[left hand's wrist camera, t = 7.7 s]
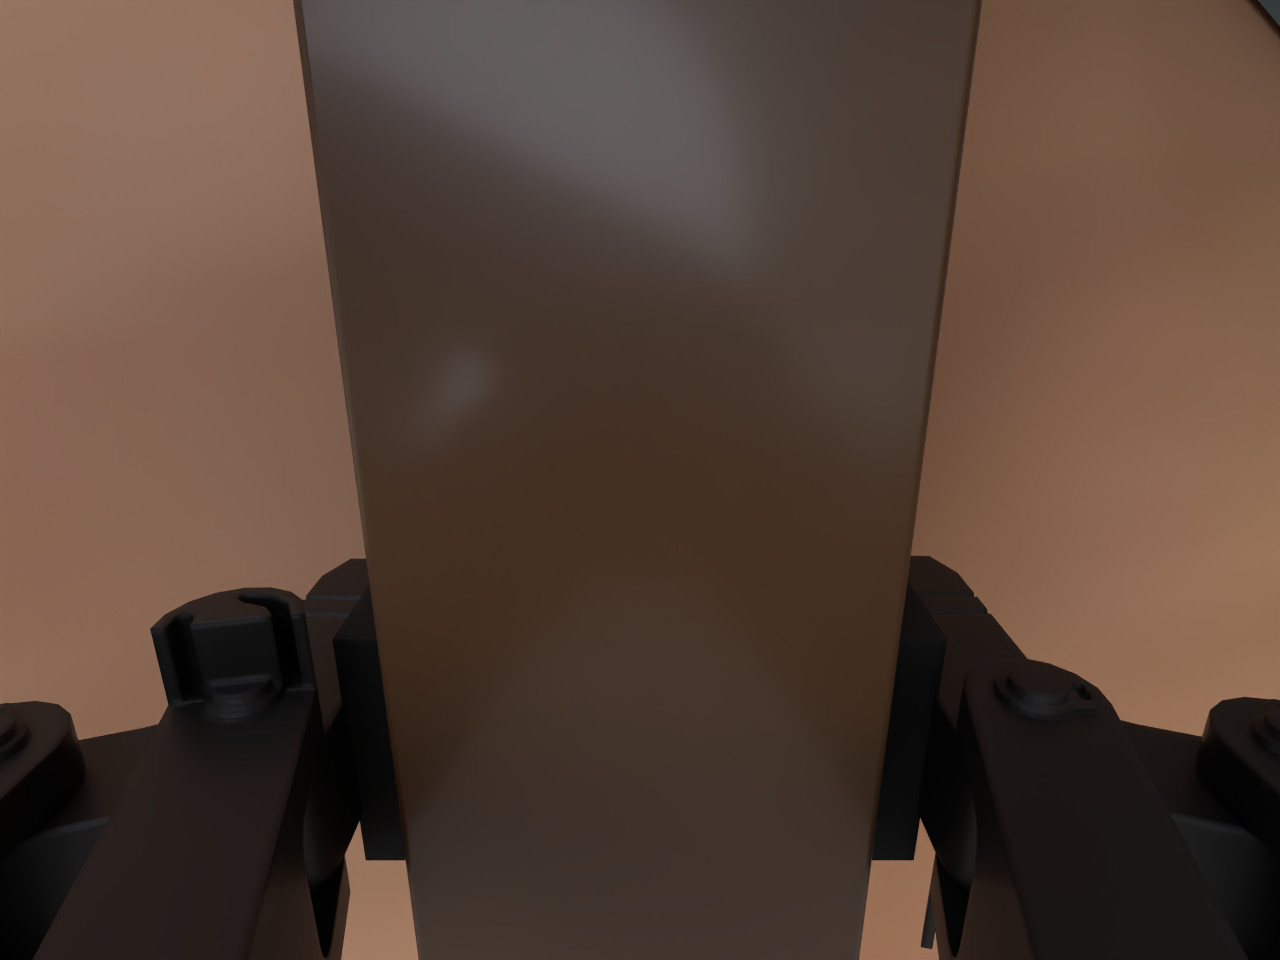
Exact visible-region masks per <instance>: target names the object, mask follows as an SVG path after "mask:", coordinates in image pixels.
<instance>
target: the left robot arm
mask: <svg viewBox="0 0 1280 960" xmlns="http://www.w3.org/2000/svg"><path fill="white" fill-rule="evenodd" d="M150 630H151V634H152V638H153V642H154V646H155V651H156V655H157V659H158V663H159V667H160V671H161V675H162V680H163V684H164V688H165V692H166V696H167V700H168V704H169V705H168V707H167V709H166V711H165V713H164V715H163V717H162V719H161V720H160V722H159V724H157V725H153V726H149V727H145V728H141V729H136V730H131V731H125V732H120V733H115V734H110V735H104V736H99V737H94V738H89V739H84V740H78V738H77V735H76V731H75V728H74V724H73V721H72V717H71V714H70V713H69V712H67V711H66V710H65V709H64V708H62V707H61V706H60V705H59V704H52V703H46V702H39V701H31V702H21V703H4V704H0V960H341V955H342V948H343V941H344V933H345V926H346V919H347V912H348V904H349V897H350V887H349V879H348V872H347V866H346V860H345V853H346V850H347V848H348V846H349V844H350V841H351V839H352V837H353V835H354V832H355V830H356V828H357V825H358V823H359V821H360V825H361V831H362V838H363V844H364V851H365V858H366V860H406V858H405V851H404V843H403V835H402V828H401V820H400V813H399V805H398V797H397V790H396V782H395V774H394V767H393V759H392V752H391V744H390V736H389V729H388V721H387V713H386V706H385V698H384V690H383V683H382V675H381V668H380V660H379V652H378V645H377V637H376V629H375V622H374V614H373V607H372V599H371V591H370V584H369V576H368V568H367V561H366V559H350V560H348V561H346V562H345V563H343V564H341V565H340V566H338V567H336V568H335V569H333V570H331V571H330V572H328V573H326V574H325V575H323V576H322V577H321V578H320V579H319V581H318V582H317V583H316V584H315V586H314V587H313V588H312V589H311V591H310V592H309V593H308V594H307V595H306V600H301V599H300V598H299V597H297V596H296V595H295V594H293V593H292V592H289V591H285V590H280V589H275V588H241V589H236V590H230V591H224V592H218V593H214V594H211V595H208V596H205V597H202V598H199V599H196V600H193V601H190V602H188V603H186V604H184V605H182V606H180V607H178V608H177V609H175V610H173V611H171V612H169V613H167V614H165V615H164V616H163V617H162V618H161V619H160V620H159V621H158V622H157V623H156V624H155V625H154V626H153V627H152V628H151V629H150ZM920 818H921V820H922V822H923V825H924V827H925V829H926V831H927V834H928V836H929V838H930V840H931V843H932V845H933V847H934V850H935V852H936V854H935V860H934V866H933V872H932V878H931V884H930V890H929V896H928V902H927V909H926V915H925V921H924V927H923V934H922V942H921V947H924V948H929V949H932V947H933V941H934V935H935V932H936V939H937V946H938V953H939V960H1280V700H1276V699H1260V698H1249V697H1241V698H1235V699H1228V700H1222V701H1221V702H1219V703H1218V704H1217V705H1216V706H1214V707H1213V708H1212V709H1211V710H1210V712H1209V715H1208V719H1207V722H1206V725H1205V729H1204V732H1203V736H1202V737H1201V736H1195V735H1190V734H1185V733H1180V732H1174V731H1169V730H1164V729H1159V728H1153V727H1148V726H1143V725H1138V724H1134V723H1130V722H1126V721H1122V720H1120V719H1119V717H1118V715H1117V713H1116V711H1115V710H1114V708H1113V706H1112V704H1111V703H1110V702H1109V701H1108V699H1107V698H1106V697H1105V696H1104V695H1103V694H1102V692H1101V691H1100V690H1099V689H1098V688H1097V687H1095V686H1094V685H1092V684H1091V683H1089V682H1087V681H1086V680H1084V679H1083V678H1081V677H1080V676H1078V675H1077V674H1075V673H1072V672H1069V671H1067V670H1064V669H1062V668H1059V667H1057V666H1054V665H1052V664H1049V663H1044V662H1039V661H1034V660H1030V659H1027V658H1026V656H1025V655H1024V654H1023V653H1022V652H1021V650H1020V649H1019V648H1018V647H1017V645H1016V644H1015V643H1014V642H1013V640H1012V639H1011V638H1010V637H1009V636H1008V634H1007V633H1006V632H1005V631H1004V629H1003V628H1002V627H1001V626H1000V625H999V623H998V622H997V621H996V620H995V618H994V617H993V616H992V615H991V614H988V613H987V609H986V607H985V606H984V605H983V604H982V602H981V601H980V600H979V599H978V597H974V593H973V591H972V590H971V589H970V588H969V586H968V585H967V584H966V583H965V582H964V580H963V579H962V578H961V577H960V575H959V574H958V573H957V572H955V571H953V570H952V569H950V568H948V567H947V566H945V565H943V564H941V563H940V562H938V561H936V560H935V559H933V558H931V557H930V556H911V557H910V565H909V572H908V580H907V588H906V596H905V604H904V611H903V619H902V627H901V635H900V643H899V650H898V658H897V666H896V674H895V681H894V689H893V697H892V705H891V713H890V720H889V728H888V736H887V744H886V752H885V759H884V767H883V775H882V783H881V791H880V798H879V806H878V814H877V822H876V830H875V837H874V845H873V853H872V860H914V854H915V848H916V841H917V834H918V828H919V821H920Z"/></svg>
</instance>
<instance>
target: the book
mask: <svg viewBox="0 0 1280 960" xmlns="http://www.w3.org/2000/svg"><path fill="white" fill-rule="evenodd" d="M1258 1H1259V2H1260V3H1261V4H1262V6H1263V7H1264V8H1265V9H1266V10H1267V12H1268V13H1269V14H1270V15H1271V16H1272V18H1273V19H1274V20H1275V21H1276V22H1277V24H1278V25H1279V26H1280V0H1258Z"/></svg>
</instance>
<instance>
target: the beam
mask: <svg viewBox="0 0 1280 960" xmlns="http://www.w3.org/2000/svg"><path fill="white" fill-rule="evenodd" d="M293 4H294V11H295V19H296V27H297V34H298V42H299V50H300V57H301V65H302V72H303V80H304V88H305V95H306V103H307V111H308V118H309V126H310V133H311V141H312V149H313V156H314V164H315V172H316V179H317V187H318V194H319V202H320V210H321V217H322V225H323V233H324V240H325V248H326V256H327V263H328V271H329V278H330V286H331V294H332V301H333V309H334V317H335V324H336V332H337V339H338V347H339V355H340V362H341V370H342V378H343V385H344V393H345V401H346V408H347V416H348V423H349V431H350V439H351V446H352V454H353V462H354V469H355V477H356V484H357V492H358V500H359V507H360V515H361V523H362V530H363V538H364V545H365V553H366V561H367V568H368V576H369V584H370V591H371V599H372V607H373V614H374V622H375V629H376V637H377V645H378V652H379V660H380V668H381V675H382V683H383V690H384V698H385V706H386V713H387V721H388V729H389V736H390V744H391V752H392V759H393V767H394V774H395V782H396V790H397V797H398V805H399V813H400V820H401V828H402V835H403V843H404V851H405V858H406V866H407V874H408V881H409V889H410V897H411V904H412V912H413V919H414V927H415V935H416V942H417V950H418V958H419V960H859V954H860V946H861V939H862V931H863V923H864V915H865V907H866V900H867V892H868V884H869V876H870V869H871V861H872V853H873V845H874V837H875V830H876V822H877V814H878V806H879V798H880V791H881V783H882V775H883V767H884V759H885V752H886V744H887V736H888V728H889V720H890V713H891V705H892V697H893V689H894V681H895V674H896V666H897V658H898V650H899V643H900V635H901V627H902V619H903V611H904V604H905V596H906V588H907V580H908V572H909V565H910V557H911V549H912V541H913V533H914V526H915V518H916V510H917V502H918V494H919V487H920V479H921V471H922V463H923V456H924V448H925V440H926V432H927V424H928V417H929V409H930V401H931V393H932V385H933V378H934V370H935V362H936V354H937V346H938V339H939V331H940V323H941V315H942V307H943V300H944V292H945V284H946V276H947V268H948V261H949V253H950V245H951V237H952V230H953V222H954V214H955V206H956V198H957V191H958V183H959V175H960V167H961V159H962V152H963V144H964V136H965V128H966V120H967V113H968V105H969V97H970V89H971V81H972V74H973V66H974V58H975V50H976V42H977V35H978V27H979V19H980V11H981V4H982V0H293Z"/></svg>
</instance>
